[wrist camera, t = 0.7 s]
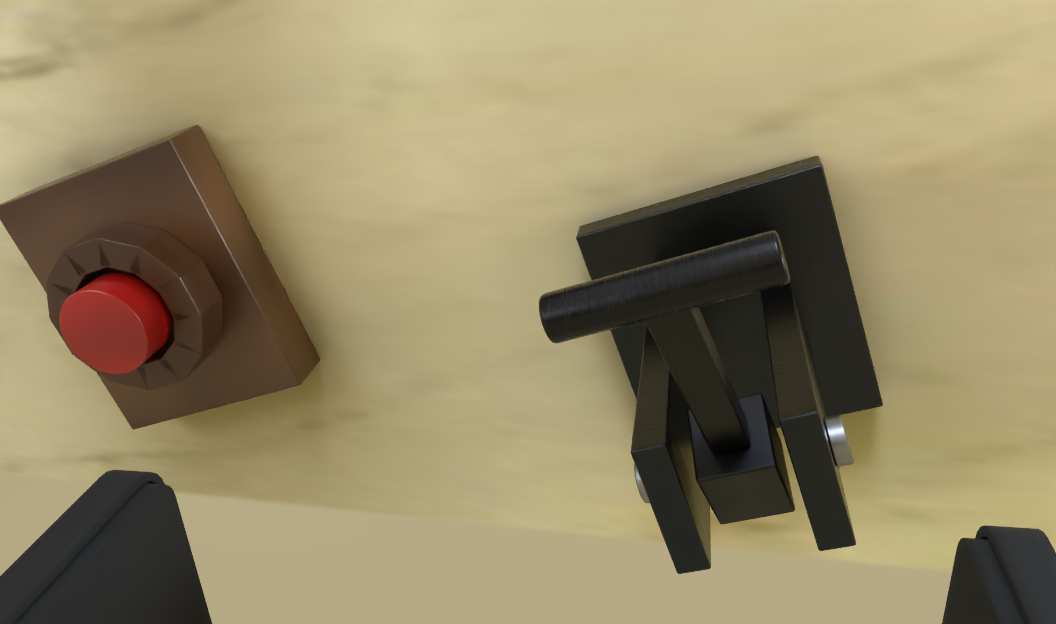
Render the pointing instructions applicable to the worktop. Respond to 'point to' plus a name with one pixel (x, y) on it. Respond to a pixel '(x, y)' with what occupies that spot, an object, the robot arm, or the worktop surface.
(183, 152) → the button box
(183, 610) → the robot arm
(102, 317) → the button
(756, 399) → the lever
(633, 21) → the worktop surface
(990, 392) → the worktop surface
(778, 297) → the bracket
